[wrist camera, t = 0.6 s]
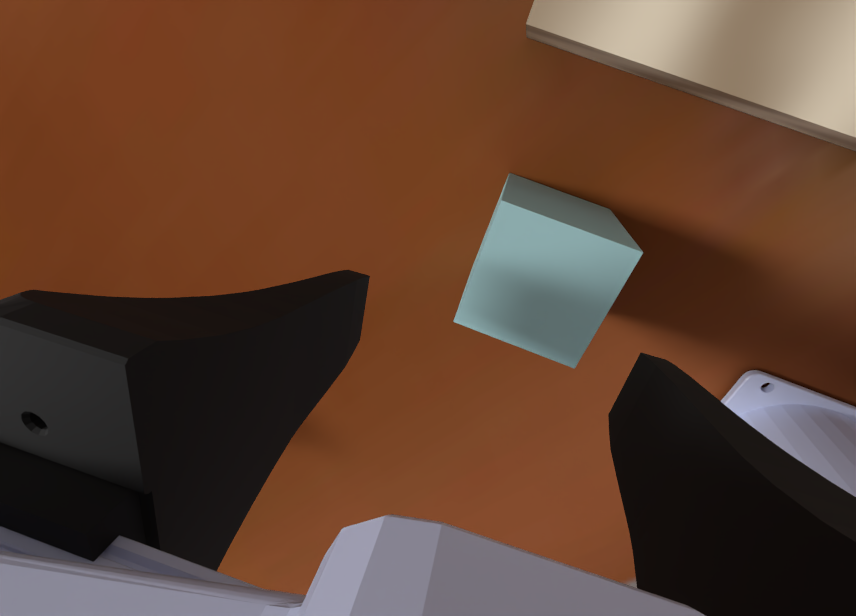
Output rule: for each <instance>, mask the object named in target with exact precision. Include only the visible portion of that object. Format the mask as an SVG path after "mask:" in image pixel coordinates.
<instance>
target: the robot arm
mask: <svg viewBox="0 0 856 616" xmlns="http://www.w3.org/2000/svg"><path fill="white" fill-rule="evenodd" d="M369 277H370V276H368V275H365V274H361V273H358V272H354V271H350V270H343V271H337V272H333V273H329V274H325V275H321V276H317V277H313V278H309V279H305V280H301V281H297V282H293V283H289V284H284V285H279V286H275V287H270V288H265V289H260V290H255V291H249V292H242V293H234V294H226V295H216V296H201V297H180V298H129V297H106V296H93V295H81V294H70V293H59V292H48V291H39V290H29V291H25V292H21V293H18V294H16V295H13V296H10V297H7V298H5V299H2V300H0V616H856V407H855V406H852V405H849V404H847V403H844V402H841V401H839V400H836V399H834V398H831V397H828V396H826V395H823V394H820V393H818V392H815V391H812V390H810V389H807V388H804V387H802V386H799V385H796V384H794V383H791V382H788V381H786V380H783V379H780V378H778V377H775V376H773V375H770V374H767V373H765V372H762V371H758V370H751V371H748V372H746V373H745V374H743V375H742V376H741V378H740V379H739V380H738V381H737V382H736V383H735V385H734V386H733V387H732V388H731V389H730V391H729V392H728V393H727V394H726V395H725V397H724V398H723V399H722V400H721V401H719V400H718V399H717V398H716V397H714V396H713V395H712V394H711V393H710V392H708V391H707V390H706V389H705V388H703V387H702V386H701V385H700V384H699V383H697V382H696V381H695V380H694V379H692V378H691V377H690V376H689V375H687V374H686V373H685V372H683V371H682V370H681V369H679V368H678V367H677V366H675V365H674V364H672V363H670V362H669V361H667V360H665V359H661V358H658V357H654V356H651V355H647V354H644V353H640V355H639V357H638V359H637V361H636V363H635V365H634V367H633V369H632V371H631V372H630V374H629V376H628V378H627V380H626V382H625V384H624V386H623V388H622V390H621V392H620V394H619V396H618V397H617V399H616V401H615V403H614V405H613V407H612V409H611V411H610V413H609V435H610V447H611V453H612V458H613V462H614V467H615V471H616V476H617V480H618V485H619V489H620V493H621V497H622V502H623V506H624V510H625V515H626V519H627V523H628V528H629V532H630V538H631V543H632V549H633V556H634V564H635V573H636V582H637V588H634V587H632V586H629V585H626V584H623V583H620V582H617V581H614V580H611V579H608V578H605V577H602V576H599V575H596V574H593V573H590V572H588V571H585V570H582V569H579V568H576V567H573V566H570V565H567V564H564V563H561V562H558V561H555V560H552V559H549V558H546V557H543V556H540V555H537V554H535V553H532V552H529V551H526V550H523V549H520V548H517V547H514V546H511V545H508V544H505V543H502V542H499V541H496V540H493V539H490V538H487V537H485V536H482V535H479V534H476V533H473V532H470V531H467V530H464V529H461V528H458V527H455V526H452V525H449V524H446V523H443V522H439V521H433V520H426V519H419V518H413V517H406V516H400V515H393V514H391V515H386V516H382V517H379V518H375V519H372V520H369V521H365V522H362V523H358V524H355V525H351V526H348V527H345V528H342V530H341V531H340V533H339V534H338V536H337V537H336V539H335V540H334V542H333V544H332V545H331V547H330V548H329V550H328V551H327V553H326V554H325V556H324V558H323V560H322V562H321V565H320V567H319V569H318V571H317V573H316V575H315V578H314V580H313V582H312V584H311V586H310V588H309V590H308V593H307V595H301V594H294V593H287V592H281V591H274V590H267V589H262V588H259V587H257V586H254V585H251V584H249V583H246V582H243V581H241V580H238V579H235V578H233V577H230V576H227V575H225V574H222V573H219V572H217V569H218V567H219V565H220V563H221V561H222V559H223V557H224V556H225V554H226V552H227V550H228V548H229V546H230V544H231V542H232V541H233V539H234V537H235V535H236V533H237V531H238V530H239V528H240V526H241V524H242V522H243V520H244V519H245V517H246V515H247V513H248V511H249V510H250V508H251V506H252V504H253V502H254V501H255V499H256V497H257V495H258V494H259V492H260V490H261V488H262V487H263V485H264V483H265V482H266V480H267V478H268V476H269V475H270V473H271V471H272V469H273V468H274V466H275V464H276V463H277V461H278V460H279V458H280V456H281V455H282V453H283V451H284V450H285V448H286V446H287V445H288V443H289V441H290V440H291V438H292V437H293V435H294V434H295V432H296V431H297V429H298V428H299V427H300V425H301V424H302V422H303V421H304V420H305V419H306V417H307V416H308V415H309V413H310V412H311V411H312V410H313V408H314V407H315V406H316V404H317V403H318V402H319V400H320V399H321V398H322V397H323V395H324V394H325V393H326V391H327V390H328V389H329V388H330V386H331V385H332V384H333V382H334V381H335V380H336V378H337V377H338V376H339V374H340V373H341V372H342V370H343V369H344V368H345V366H346V364H347V363H348V361H349V359H350V357H351V356H352V354H353V352H354V350H355V348H356V346H357V344H358V343H359V341H360V336H361V329H362V323H363V316H364V310H365V303H366V296H367V290H368V283H369ZM765 383H770V384H769V385H768V386H767V387H763V388H762V387H761V386H762V385H763V384H765Z"/></svg>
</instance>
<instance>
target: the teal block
mask: <svg viewBox="0 0 856 616" xmlns="http://www.w3.org/2000/svg"><path fill="white" fill-rule="evenodd" d="M642 254H643V251H642V250H641V249H640V248H639V246H638V245H637V244H636V242H635V241H634V240H633V239H632V237H631V236H630V235H629V233H628V232H627V231H626V229H625V228H624V227H623V226H622V224H621V223H620V222H619V220H618V219H617V218H616V216H615V215H614V214H613V213H612V211H611V210H610V209H608V208H605V207H602V206H599V205H597V204H594V203H591V202H589V201H586V200H583V199H580V198H578V197H575V196H572V195H569V194H567V193H564V192H561V191H558V190H556V189H553V188H550V187H547V186H545V185H542V184H539V183H536V182H534V181H531V180H528V179H525V178H523V177H520V176H517V175H514V174H512V173H509V175H508V178H507V180H506V183H505V185H504V188H503V190H502V193H501V195H500V198H499V201H498V203H497V206H496V208H495V211H494V213H493V216H492V218H491V221H490V224H489V226H488V229H487V231H486V234H485V236H484V239H483V241H482V244H481V246H480V249H479V252H478V254H477V257H476V259H475V262H474V264H473V267H472V270H471V273H470V276H469V278H468V281H467V284H466V287H465V290H464V293H463V296H462V298H461V301H460V304H459V307H458V310H457V313H456V316H455V318H454V321H453V322H455V323H458V324H461V325H463V326H466V327H468V328H471V329H474V330H476V331H479V332H481V333H484V334H487V335H489V336H492V337H494V338H497V339H499V340H502V341H505V342H507V343H510V344H512V345H515V346H518V347H520V348H523V349H525V350H528V351H531V352H533V353H536V354H538V355H541V356H544V357H546V358H549V359H551V360H554V361H557V362H559V363H562V364H564V365H567V366H570V367H572V368H575V367H576V365H577V363H578V362H579V360H580V358H581V357H582V355H583V353H584V352H585V350H586V348H587V347H588V345H589V343H590V342H591V340H592V338H593V336H594V335H595V333H596V331H597V330H598V328H599V326H600V325H601V323H602V321H603V320H604V318H605V316H606V315H607V313H608V311H609V309H610V308H611V306H612V304H613V303H614V301H615V299H616V298H617V296H618V294H619V293H620V291H621V289H622V288H623V286H624V284H625V282H626V281H627V279H628V277H629V276H630V274H631V272H632V271H633V269H634V267H635V266H636V264H637V262H638V261H639V259H640V257H641V256H642Z"/></svg>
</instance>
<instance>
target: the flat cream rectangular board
mask: <svg viewBox="0 0 856 616" xmlns="http://www.w3.org/2000/svg"><path fill="white" fill-rule="evenodd" d="M526 34H527V38H530V39H533V40H536V41H539V42H542V43H545V44H547V45H550V46H553V47H556V48H559V49H562V50H565V51H568V52H571V53H573V54H576V55H579V56H582V57H585V58H588V59H591V60H594V61H597V62H599V63H602V64H605V65H608V66H611V67H614V68H617V69H620V70H623V71H625V72H628V73H631V74H634V75H637V76H640V77H643V78H646V79H649V80H651V81H654V82H657V83H660V84H663V85H666V86H669V87H672V88H675V89H677V90H680V91H683V92H686V93H689V94H692V95H695V96H698V97H701V98H703V99H706V100H709V101H712V102H715V103H718V104H721V105H724V106H727V107H729V108H732V109H735V110H738V111H741V112H744V113H747V114H750V115H752V116H755V117H758V118H761V119H764V120H767V121H770V122H773V123H776V124H778V125H781V126H784V127H787V128H790V129H793V130H796V131H799V132H802V133H804V134H807V135H810V136H813V137H816V138H819V139H822V140H825V141H828V142H830V143H833V144H836V145H839V146H842V147H845V148H848V149H851V150H854V151H856V0H534V3H533V6H532V8H531V11H530V14H529V17H528V20H527V23H526Z"/></svg>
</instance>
